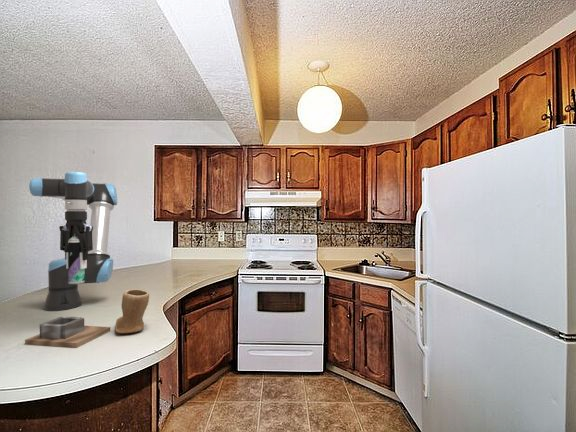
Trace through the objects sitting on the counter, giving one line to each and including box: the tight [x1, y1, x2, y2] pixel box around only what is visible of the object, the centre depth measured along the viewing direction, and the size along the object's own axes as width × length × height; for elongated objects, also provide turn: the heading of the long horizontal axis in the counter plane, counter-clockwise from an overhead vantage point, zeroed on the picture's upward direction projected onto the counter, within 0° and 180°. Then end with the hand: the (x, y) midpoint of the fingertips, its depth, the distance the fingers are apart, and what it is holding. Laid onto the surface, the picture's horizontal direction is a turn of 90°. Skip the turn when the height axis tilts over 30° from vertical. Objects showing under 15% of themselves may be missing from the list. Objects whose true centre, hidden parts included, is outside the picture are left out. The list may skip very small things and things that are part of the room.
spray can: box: [68, 233, 85, 285], centre depth 133 cm, size 6×6×20 cm
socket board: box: [24, 316, 111, 349], centre depth 119 cm, size 20×16×6 cm
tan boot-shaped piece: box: [114, 288, 150, 334], centre depth 128 cm, size 15×12×15 cm
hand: (76, 268), depth 133 cm, fingers closed on spray can, 5 cm apart
